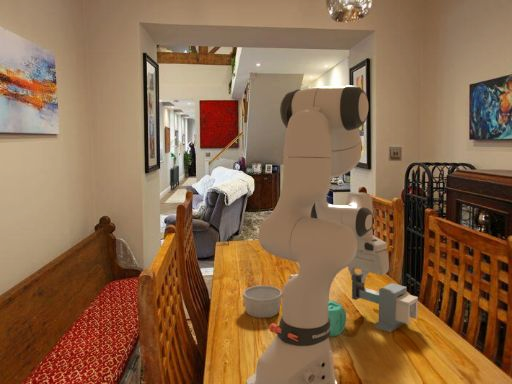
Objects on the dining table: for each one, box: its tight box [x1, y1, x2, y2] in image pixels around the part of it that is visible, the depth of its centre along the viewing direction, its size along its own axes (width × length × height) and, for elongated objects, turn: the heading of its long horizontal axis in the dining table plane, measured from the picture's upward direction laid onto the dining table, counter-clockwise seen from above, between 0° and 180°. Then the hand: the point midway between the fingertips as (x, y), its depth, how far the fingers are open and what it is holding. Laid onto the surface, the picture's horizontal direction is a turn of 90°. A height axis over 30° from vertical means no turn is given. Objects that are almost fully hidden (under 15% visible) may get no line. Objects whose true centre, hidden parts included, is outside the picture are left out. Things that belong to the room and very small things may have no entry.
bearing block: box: [374, 282, 408, 333], centre depth 119 cm, size 12×5×12 cm, turn 131°
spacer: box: [395, 293, 419, 325], centre depth 115 cm, size 6×4×7 cm, turn 132°
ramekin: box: [242, 284, 282, 319], centre depth 130 cm, size 13×13×7 cm
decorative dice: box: [328, 300, 347, 338], centre depth 115 cm, size 8×8×8 cm
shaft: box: [351, 271, 415, 314], centre depth 121 cm, size 5×20×8 cm, turn 41°
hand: (358, 281), depth 127 cm, fingers closed on shaft, 2 cm apart
